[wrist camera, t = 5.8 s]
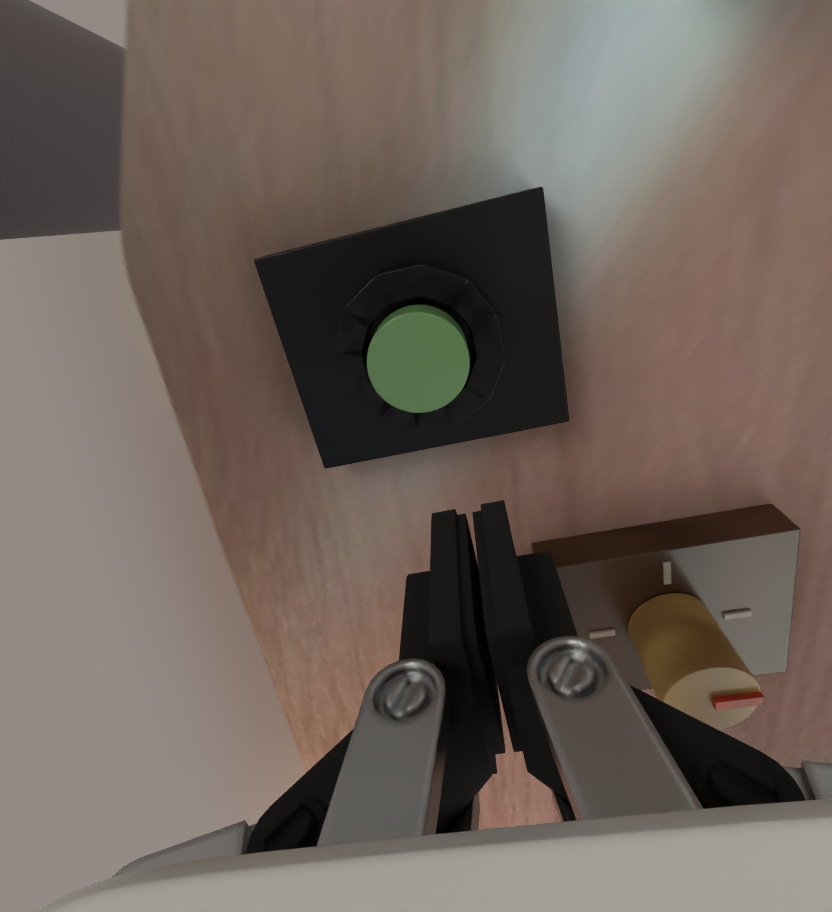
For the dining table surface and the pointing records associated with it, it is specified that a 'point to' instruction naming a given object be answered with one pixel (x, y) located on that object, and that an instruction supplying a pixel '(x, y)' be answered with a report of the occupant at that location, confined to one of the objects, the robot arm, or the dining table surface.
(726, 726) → the dimmer knob
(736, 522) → the dimmer panel
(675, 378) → the dining table surface
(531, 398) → the switch box
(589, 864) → the robot arm
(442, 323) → the power button
